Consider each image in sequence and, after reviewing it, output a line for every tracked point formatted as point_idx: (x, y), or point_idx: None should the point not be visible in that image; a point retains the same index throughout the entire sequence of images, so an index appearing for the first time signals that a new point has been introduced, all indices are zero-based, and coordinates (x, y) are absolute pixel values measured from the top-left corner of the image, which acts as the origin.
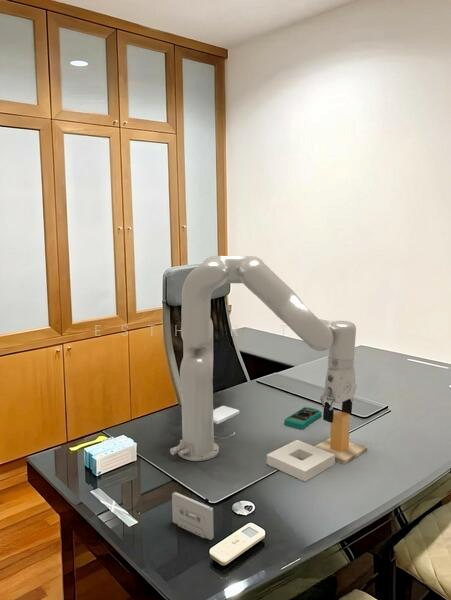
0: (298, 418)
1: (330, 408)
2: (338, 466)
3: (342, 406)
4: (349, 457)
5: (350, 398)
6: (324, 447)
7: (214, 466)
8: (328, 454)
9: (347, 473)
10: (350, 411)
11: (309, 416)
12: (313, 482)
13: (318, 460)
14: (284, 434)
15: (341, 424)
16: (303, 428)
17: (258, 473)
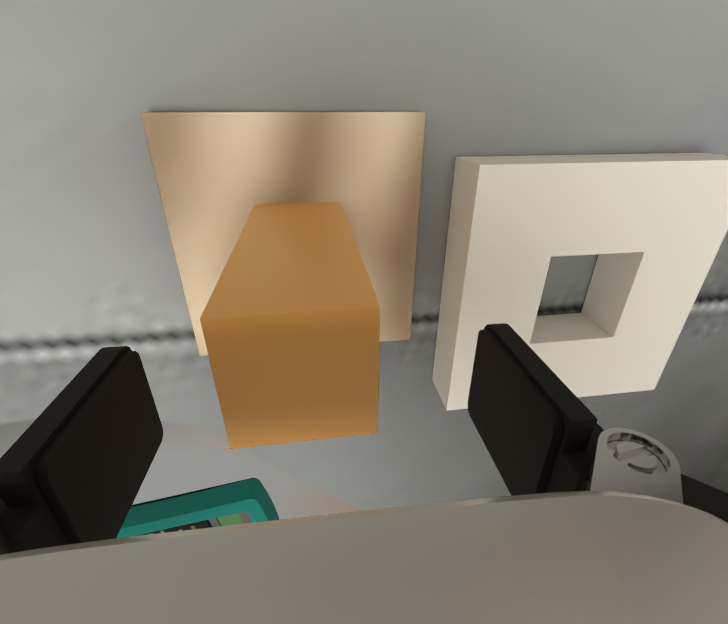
0: None
1: (644, 456)
2: (465, 122)
3: (140, 480)
4: (362, 117)
5: (78, 543)
6: None
7: (704, 443)
8: (502, 196)
9: (512, 18)
10: (112, 365)
11: None
12: (694, 114)
13: (604, 190)
14: (354, 482)
15: (365, 277)
16: (249, 481)
17: (700, 333)
